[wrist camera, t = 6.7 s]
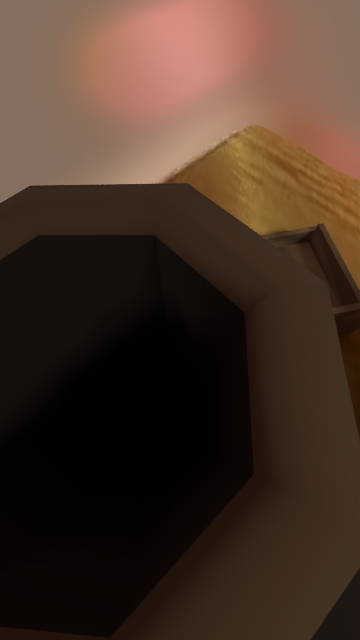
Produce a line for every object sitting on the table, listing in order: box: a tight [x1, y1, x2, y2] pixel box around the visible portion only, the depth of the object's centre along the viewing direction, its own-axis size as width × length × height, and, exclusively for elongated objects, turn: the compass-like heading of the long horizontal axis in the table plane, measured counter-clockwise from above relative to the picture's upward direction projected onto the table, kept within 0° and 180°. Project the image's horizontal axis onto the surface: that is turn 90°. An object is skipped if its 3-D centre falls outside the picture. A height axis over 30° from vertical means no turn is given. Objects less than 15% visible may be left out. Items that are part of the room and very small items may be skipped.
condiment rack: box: [262, 224, 360, 335], centre depth 30 cm, size 34×13×7 cm, turn 101°
